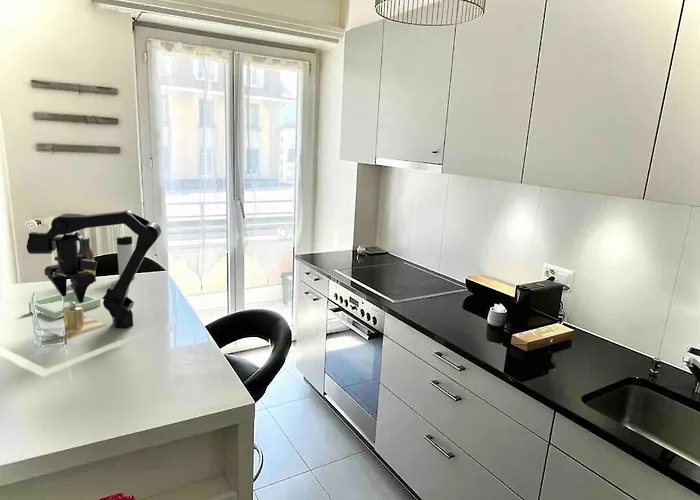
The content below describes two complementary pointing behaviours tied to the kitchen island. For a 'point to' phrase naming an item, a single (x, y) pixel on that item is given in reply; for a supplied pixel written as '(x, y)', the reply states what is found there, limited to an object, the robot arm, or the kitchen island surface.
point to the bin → (70, 297)
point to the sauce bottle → (86, 251)
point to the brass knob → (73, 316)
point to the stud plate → (89, 326)
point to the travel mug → (124, 252)
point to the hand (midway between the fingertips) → (72, 299)
